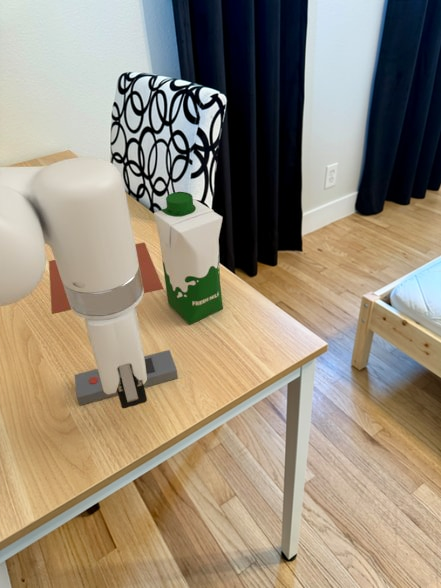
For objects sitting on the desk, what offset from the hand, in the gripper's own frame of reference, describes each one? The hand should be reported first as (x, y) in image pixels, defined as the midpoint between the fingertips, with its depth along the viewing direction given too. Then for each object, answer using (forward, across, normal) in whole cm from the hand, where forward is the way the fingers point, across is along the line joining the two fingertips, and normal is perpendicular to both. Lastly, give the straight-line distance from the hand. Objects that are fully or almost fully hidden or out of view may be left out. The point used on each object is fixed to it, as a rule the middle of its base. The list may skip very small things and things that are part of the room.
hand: (133, 400), depth 55 cm
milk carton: (+4, -20, +14) cm, 25 cm away
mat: (+4, -36, 0) cm, 37 cm away
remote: (+4, -7, 0) cm, 8 cm away
